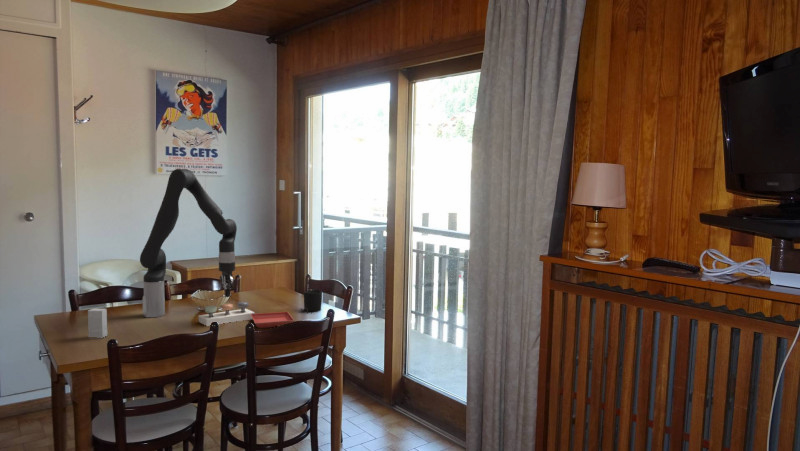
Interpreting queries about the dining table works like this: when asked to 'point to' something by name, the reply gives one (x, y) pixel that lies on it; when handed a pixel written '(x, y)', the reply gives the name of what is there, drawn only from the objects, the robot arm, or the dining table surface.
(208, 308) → the sage button
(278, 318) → the plant saucer
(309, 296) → the pen holder
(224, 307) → the terracotta button
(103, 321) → the skincare box
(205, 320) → the button board
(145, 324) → the dining table surface
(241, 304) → the charcoal button
